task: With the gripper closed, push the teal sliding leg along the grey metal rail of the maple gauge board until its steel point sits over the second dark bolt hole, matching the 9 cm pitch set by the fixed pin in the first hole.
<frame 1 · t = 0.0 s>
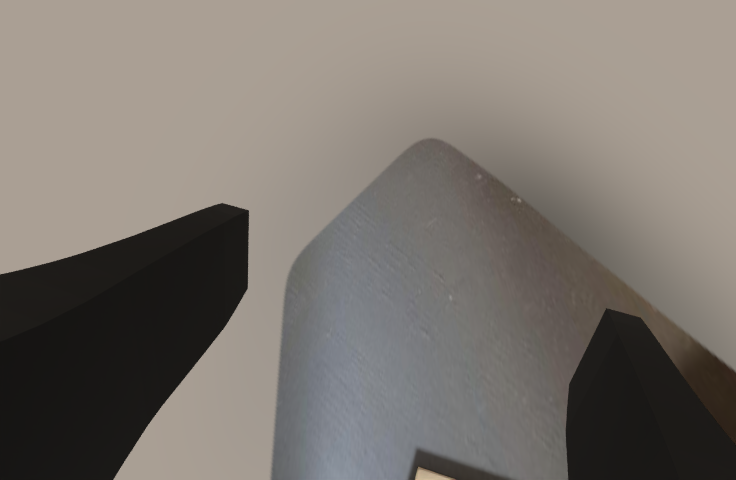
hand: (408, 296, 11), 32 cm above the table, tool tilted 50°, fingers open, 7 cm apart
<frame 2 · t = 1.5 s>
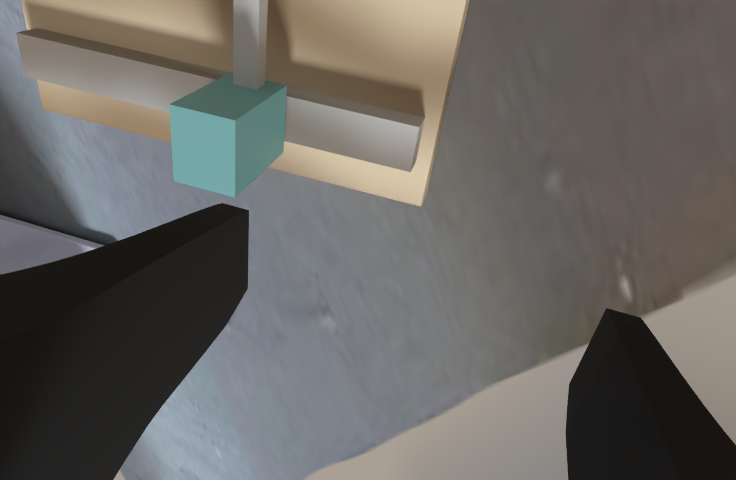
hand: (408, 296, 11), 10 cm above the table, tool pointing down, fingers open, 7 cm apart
slider leg: (240, 51, 16), point 4 cm above the table, slide at 3.0 cm
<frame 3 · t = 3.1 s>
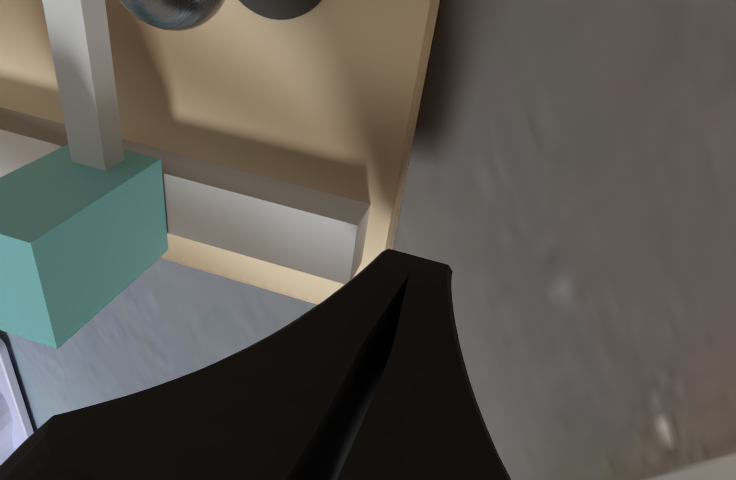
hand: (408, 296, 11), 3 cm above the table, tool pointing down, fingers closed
slider leg: (67, 117, 10), point 4 cm above the table, slide at 3.0 cm
gauge board: (100, 26, 13), on the table
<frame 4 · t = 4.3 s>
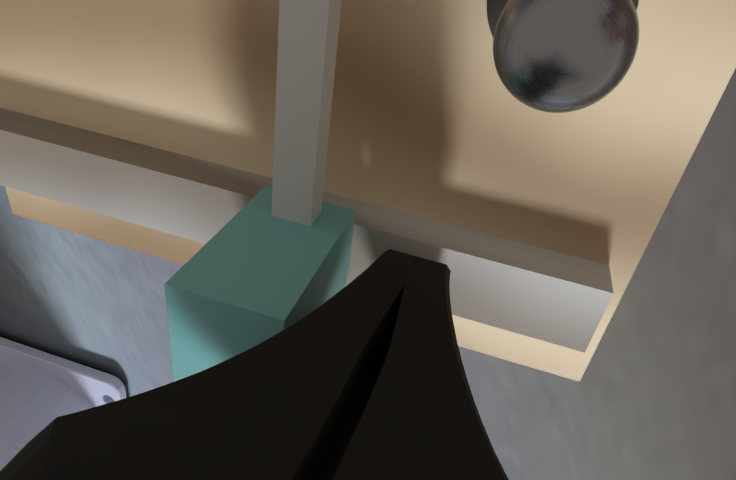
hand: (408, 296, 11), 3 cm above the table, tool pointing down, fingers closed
slider leg: (286, 173, 10), point 4 cm above the table, slide at 3.7 cm, touching gripper
gauge board: (300, 70, 12), on the table
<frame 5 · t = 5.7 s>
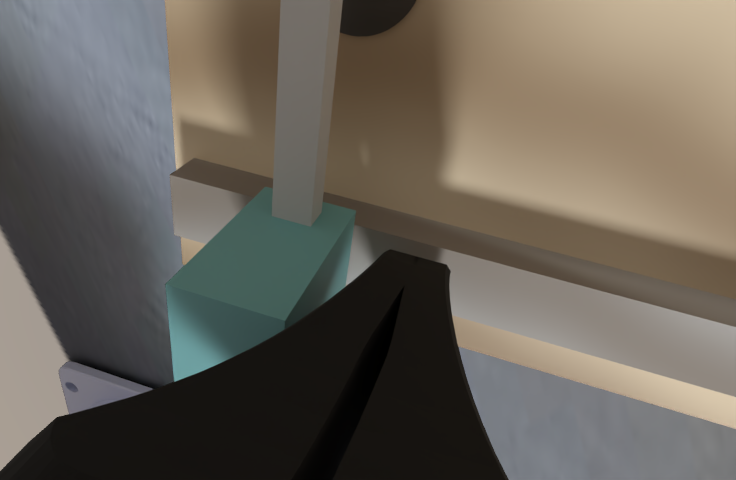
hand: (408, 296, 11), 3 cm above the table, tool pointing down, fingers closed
slider leg: (287, 174, 10), point 4 cm above the table, slide at 9.2 cm, touching gripper
gauge board: (542, 125, 12), on the table
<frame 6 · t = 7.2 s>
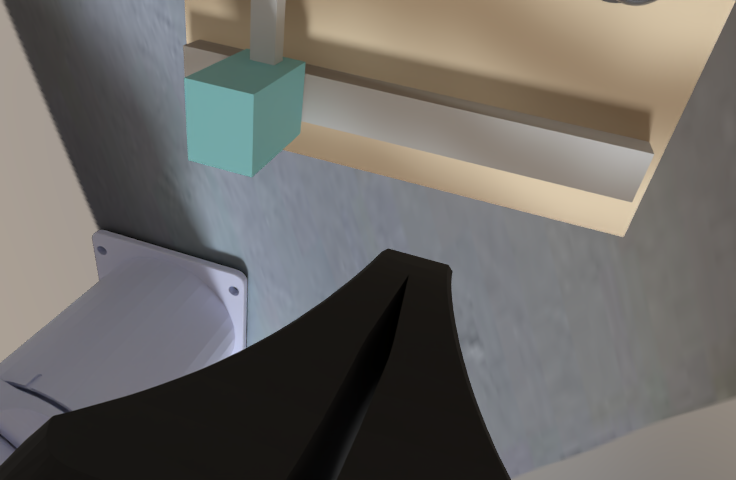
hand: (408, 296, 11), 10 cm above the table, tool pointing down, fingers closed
slider leg: (258, 24, 16), point 4 cm above the table, slide at 9.2 cm
gauge board: (429, 9, 17), on the table
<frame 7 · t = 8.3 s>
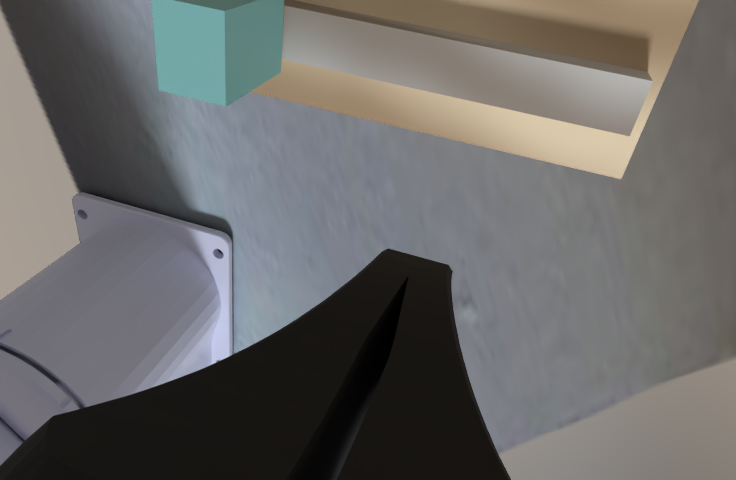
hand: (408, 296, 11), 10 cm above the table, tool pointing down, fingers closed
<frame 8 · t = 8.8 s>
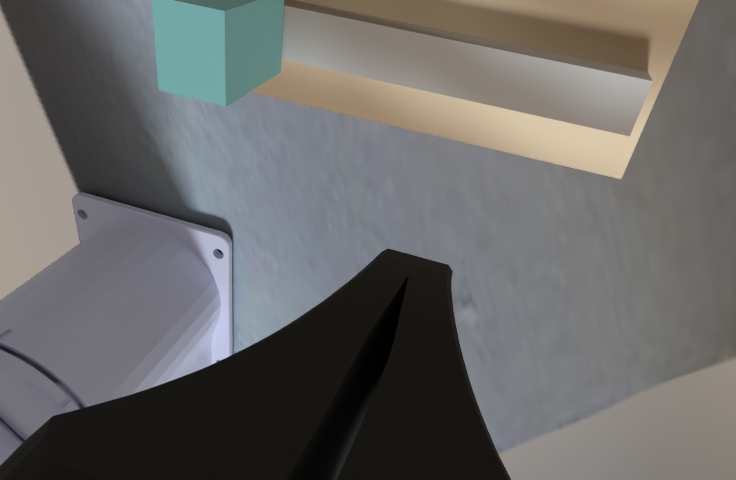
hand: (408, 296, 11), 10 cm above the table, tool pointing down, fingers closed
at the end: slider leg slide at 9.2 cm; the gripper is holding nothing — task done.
